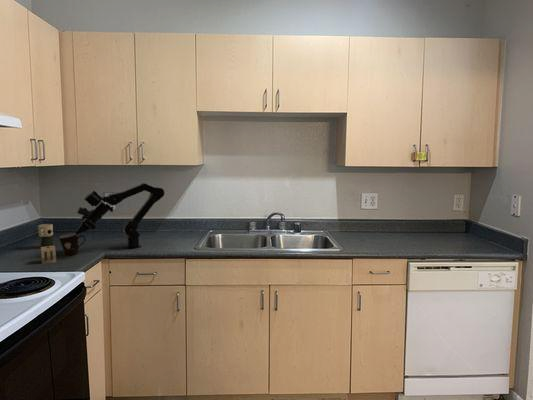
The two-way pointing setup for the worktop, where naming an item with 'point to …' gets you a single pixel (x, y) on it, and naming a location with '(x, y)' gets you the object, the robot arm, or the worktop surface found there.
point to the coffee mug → (70, 243)
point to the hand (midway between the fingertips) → (76, 233)
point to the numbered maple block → (48, 254)
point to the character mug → (46, 234)
